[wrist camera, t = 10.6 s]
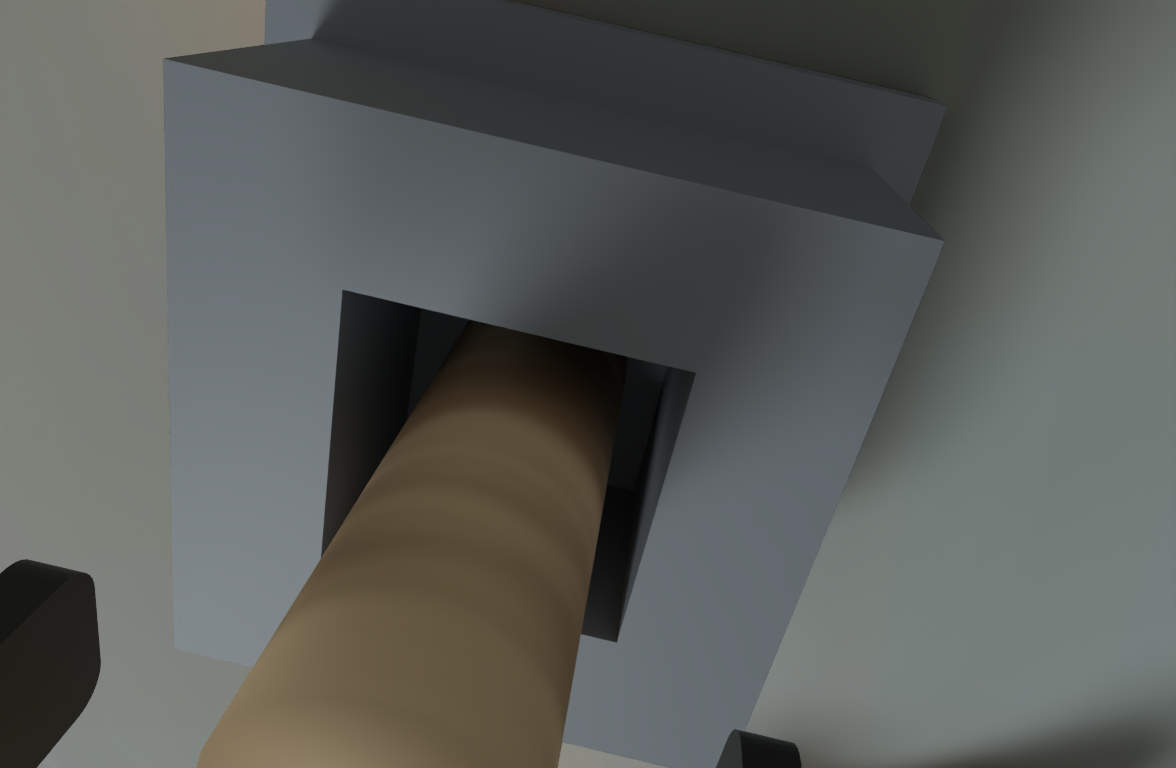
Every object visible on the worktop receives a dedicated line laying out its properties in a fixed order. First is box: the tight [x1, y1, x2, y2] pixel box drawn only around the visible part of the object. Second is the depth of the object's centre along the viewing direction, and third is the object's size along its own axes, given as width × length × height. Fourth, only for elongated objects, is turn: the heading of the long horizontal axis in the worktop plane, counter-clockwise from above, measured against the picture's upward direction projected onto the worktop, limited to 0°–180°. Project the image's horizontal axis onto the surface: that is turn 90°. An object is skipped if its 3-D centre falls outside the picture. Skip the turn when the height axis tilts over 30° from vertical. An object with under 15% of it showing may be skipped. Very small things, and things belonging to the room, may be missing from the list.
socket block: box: [163, 0, 948, 768], centre depth 18 cm, size 15×14×7 cm
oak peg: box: [197, 320, 627, 768], centre depth 15 cm, size 4×4×12 cm
